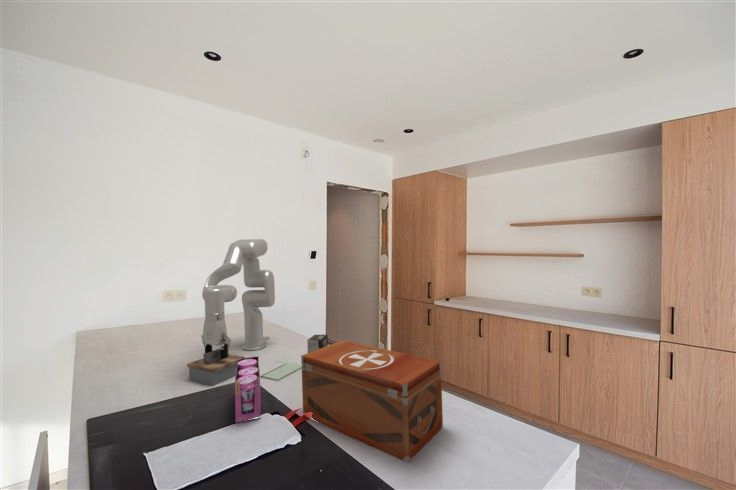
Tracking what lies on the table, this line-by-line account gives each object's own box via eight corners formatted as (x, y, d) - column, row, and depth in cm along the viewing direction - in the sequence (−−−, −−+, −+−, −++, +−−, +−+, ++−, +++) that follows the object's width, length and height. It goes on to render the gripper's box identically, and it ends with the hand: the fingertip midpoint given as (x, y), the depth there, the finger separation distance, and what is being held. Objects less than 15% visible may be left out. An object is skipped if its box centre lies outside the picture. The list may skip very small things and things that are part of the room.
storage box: (220, 369, 154) (219, 355, 154) (243, 374, 147) (243, 359, 147) (189, 382, 141) (189, 366, 141) (213, 388, 134) (213, 372, 134)
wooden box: (344, 392, 127) (342, 339, 126) (444, 427, 101) (442, 361, 101) (302, 416, 110) (300, 355, 110) (408, 464, 85) (406, 385, 85)
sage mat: (276, 361, 162) (276, 360, 162) (304, 366, 154) (304, 365, 154) (248, 374, 147) (248, 373, 147) (278, 380, 139) (278, 379, 139)
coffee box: (322, 379, 140) (321, 340, 139) (307, 378, 141) (306, 339, 141) (329, 370, 148) (328, 334, 148) (315, 370, 150) (314, 333, 150)
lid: (219, 356, 155) (219, 343, 155) (244, 360, 147) (244, 347, 147) (187, 368, 140) (186, 354, 140) (212, 374, 133) (212, 359, 133)
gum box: (261, 421, 108) (259, 379, 108) (234, 426, 105) (233, 383, 105) (260, 390, 131) (259, 355, 130) (238, 394, 128) (237, 358, 128)
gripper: (193, 317, 144) (195, 357, 144) (221, 320, 136) (222, 362, 136) (209, 313, 151) (210, 351, 151) (236, 316, 143) (237, 356, 143)
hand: (216, 356), depth 144 cm, fingers open, 9 cm apart
